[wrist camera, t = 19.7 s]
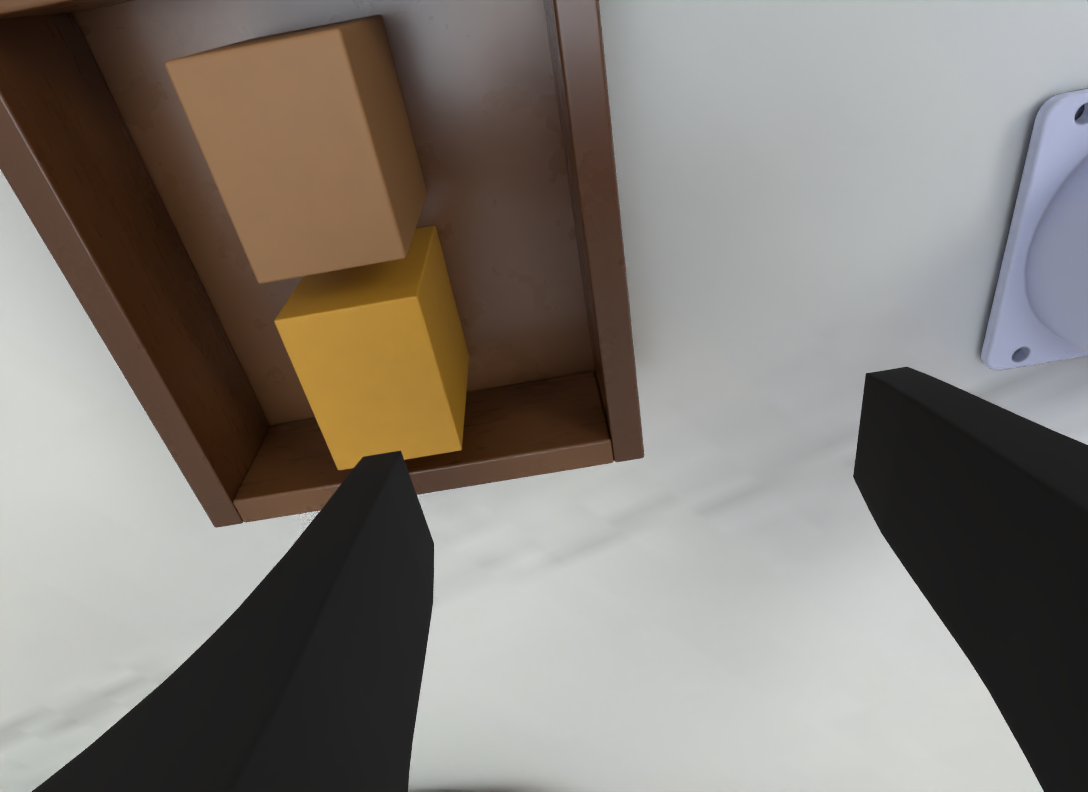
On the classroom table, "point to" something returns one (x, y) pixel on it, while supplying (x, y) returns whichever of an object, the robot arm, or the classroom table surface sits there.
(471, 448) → the holder
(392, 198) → the kraft packet
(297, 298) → the yellow block
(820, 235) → the classroom table surface
